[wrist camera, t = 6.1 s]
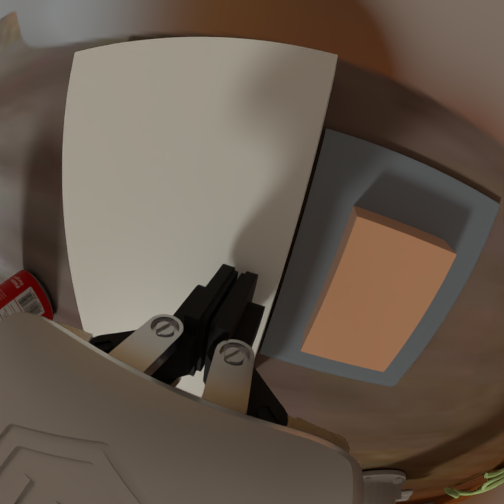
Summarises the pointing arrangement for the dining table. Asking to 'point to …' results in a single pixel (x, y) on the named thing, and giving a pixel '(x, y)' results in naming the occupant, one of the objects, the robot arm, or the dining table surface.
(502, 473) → the figurine
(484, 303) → the dining table surface
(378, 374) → the mat
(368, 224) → the tile
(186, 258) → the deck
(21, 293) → the soda can
